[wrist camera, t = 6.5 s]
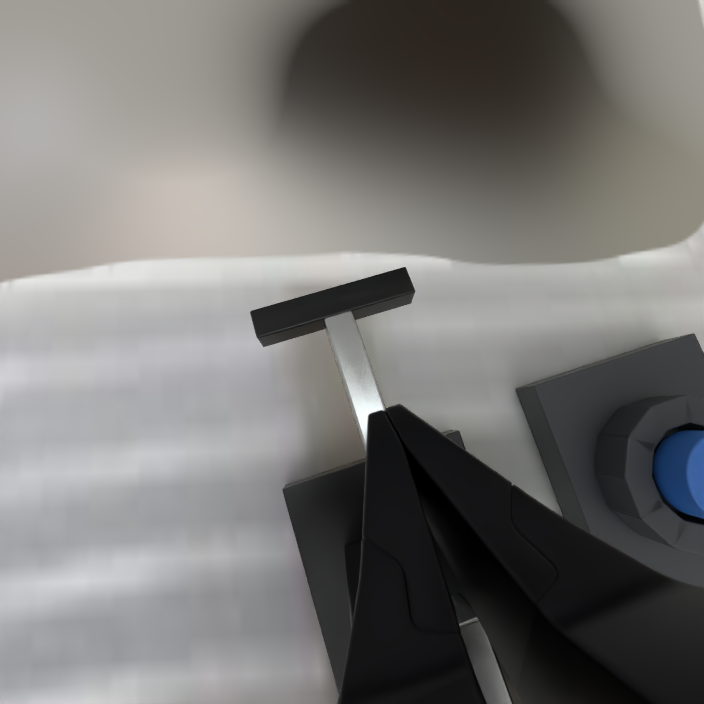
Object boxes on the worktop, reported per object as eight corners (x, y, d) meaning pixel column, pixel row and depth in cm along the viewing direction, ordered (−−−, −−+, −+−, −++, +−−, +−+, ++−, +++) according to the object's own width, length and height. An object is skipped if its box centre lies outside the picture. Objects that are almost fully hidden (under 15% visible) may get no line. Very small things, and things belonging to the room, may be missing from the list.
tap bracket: (285, 485, 20) (239, 548, 10) (452, 429, 21) (556, 439, 11) (351, 721, 18) (371, 1063, 9) (528, 651, 19) (730, 889, 9)
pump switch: (750, 540, 20) (850, 569, 17) (594, 600, 20) (661, 646, 16) (662, 340, 22) (734, 323, 18) (514, 388, 21) (556, 381, 17)
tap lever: (259, 327, 16) (245, 303, 14) (400, 287, 17) (408, 257, 14) (369, 737, 12) (374, 799, 10) (548, 665, 13) (592, 708, 10)
